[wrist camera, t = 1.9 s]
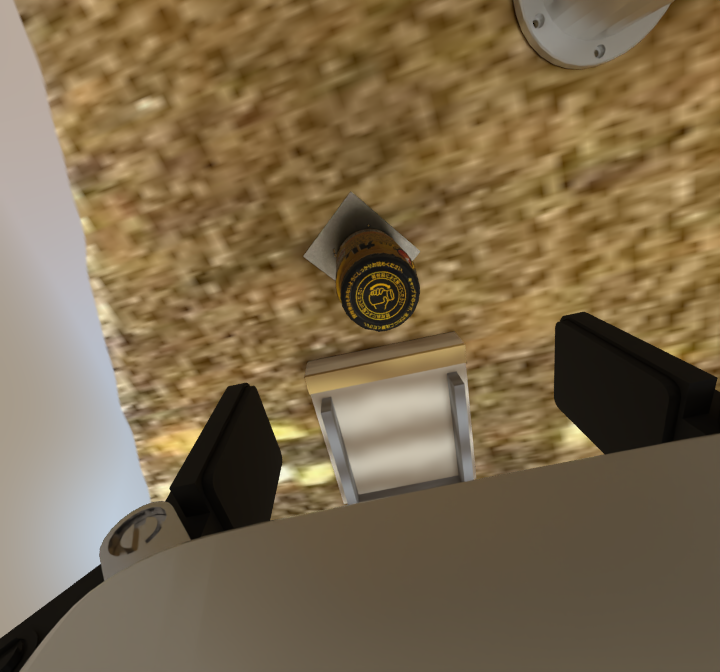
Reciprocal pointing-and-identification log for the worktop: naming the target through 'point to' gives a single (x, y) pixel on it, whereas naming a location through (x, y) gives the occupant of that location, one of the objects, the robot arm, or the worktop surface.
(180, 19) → the worktop surface
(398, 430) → the dock
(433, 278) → the worktop surface
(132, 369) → the worktop surface
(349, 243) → the condiment
